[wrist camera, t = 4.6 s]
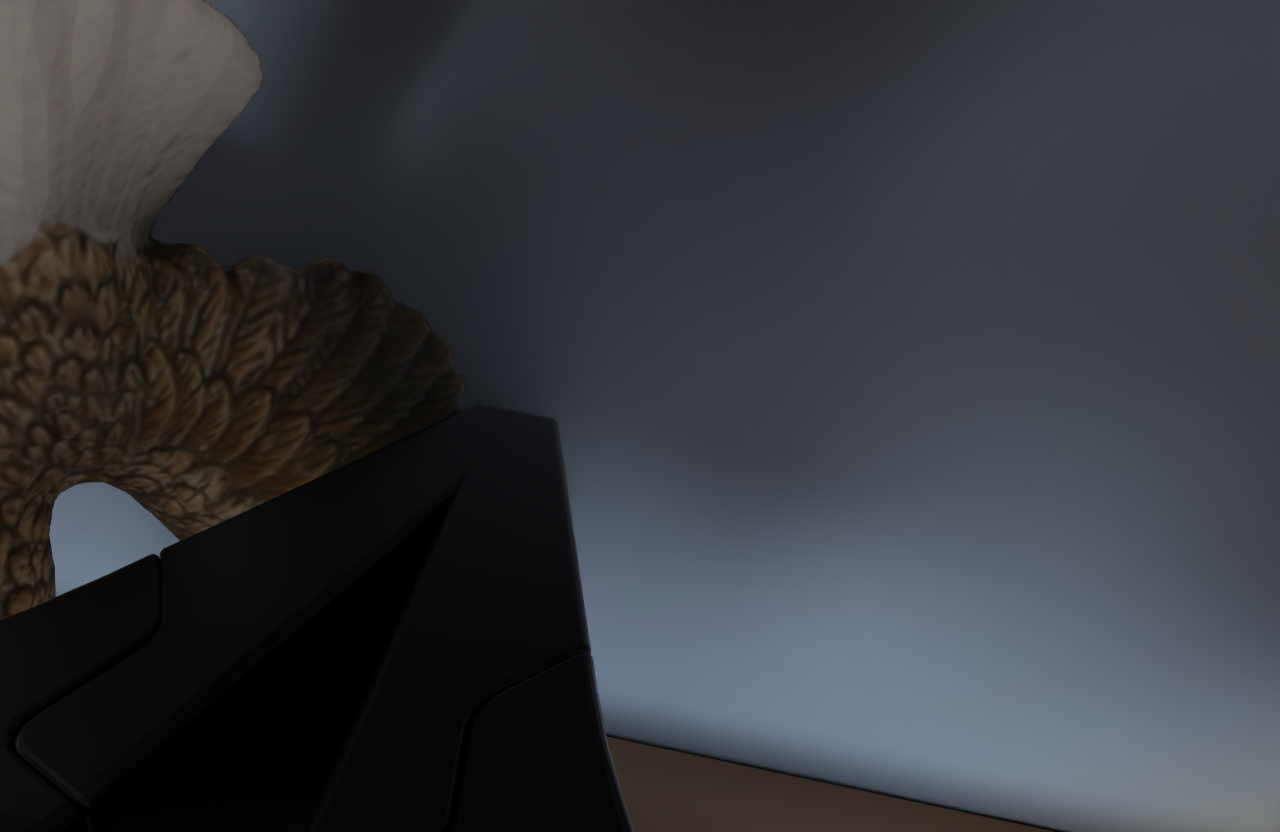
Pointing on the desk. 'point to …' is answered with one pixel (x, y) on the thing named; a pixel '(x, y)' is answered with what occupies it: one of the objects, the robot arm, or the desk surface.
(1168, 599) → the desk surface
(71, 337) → the eagle figurine
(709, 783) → the wooden frame
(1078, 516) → the desk surface
